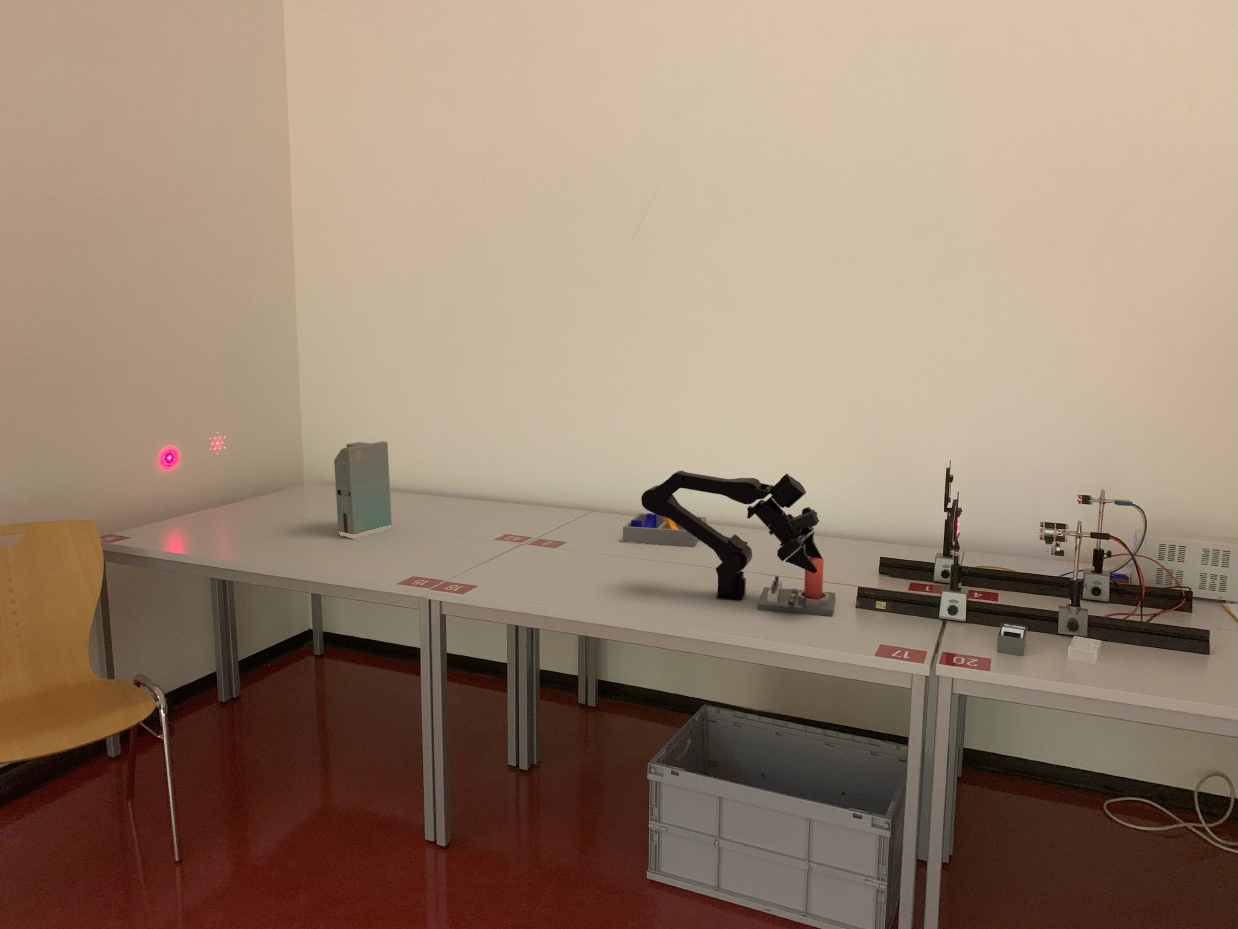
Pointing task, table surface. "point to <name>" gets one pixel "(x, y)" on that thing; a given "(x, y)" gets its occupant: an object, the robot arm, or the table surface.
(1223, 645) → the table surface
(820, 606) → the grey fixture base plate
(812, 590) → the cap
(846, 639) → the table surface
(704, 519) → the parts tray
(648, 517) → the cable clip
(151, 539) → the table surface
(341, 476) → the device
